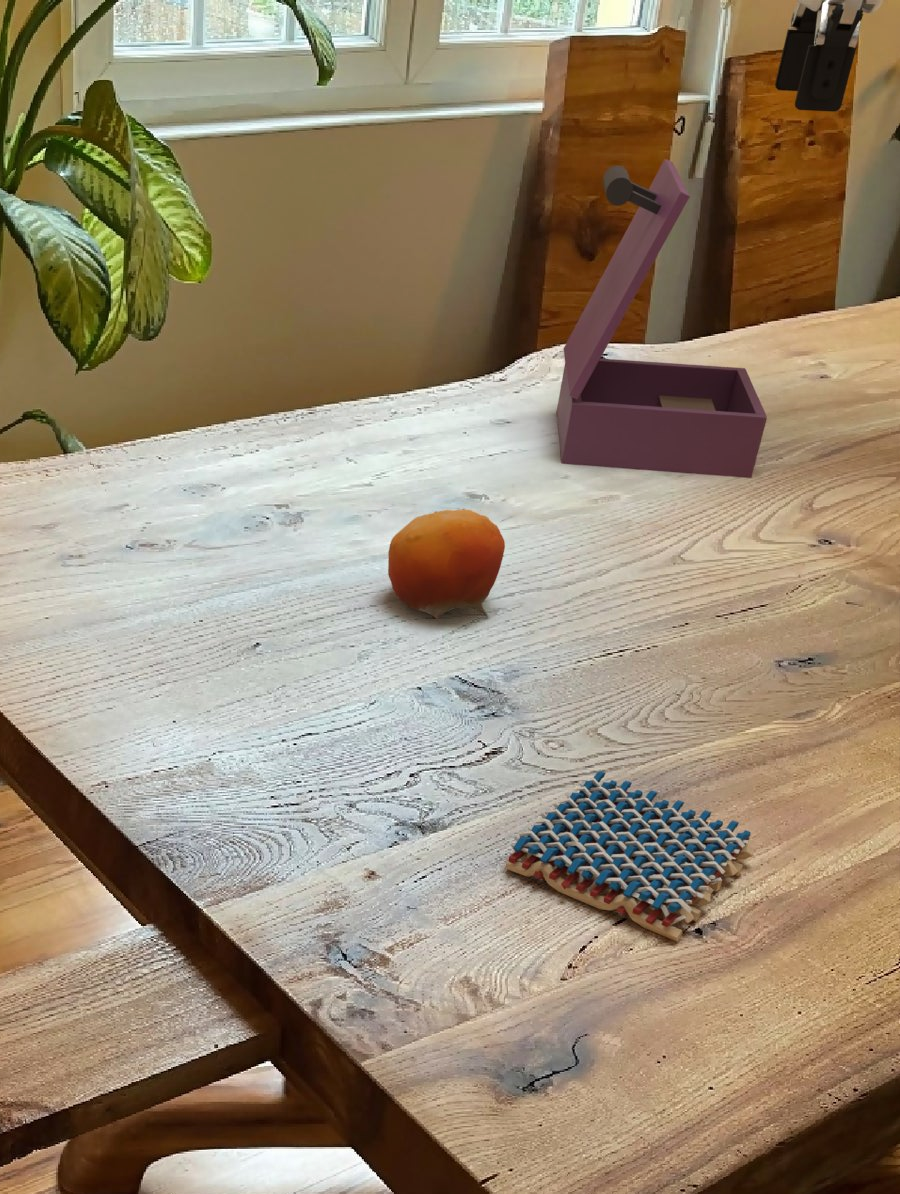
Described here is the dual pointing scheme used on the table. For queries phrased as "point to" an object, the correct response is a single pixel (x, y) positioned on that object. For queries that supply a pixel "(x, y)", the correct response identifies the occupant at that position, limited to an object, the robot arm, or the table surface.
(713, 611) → the table surface
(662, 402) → the block
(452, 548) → the fruit
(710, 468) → the box
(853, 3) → the robot arm
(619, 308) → the lid
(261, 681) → the table surface
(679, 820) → the woven mat
